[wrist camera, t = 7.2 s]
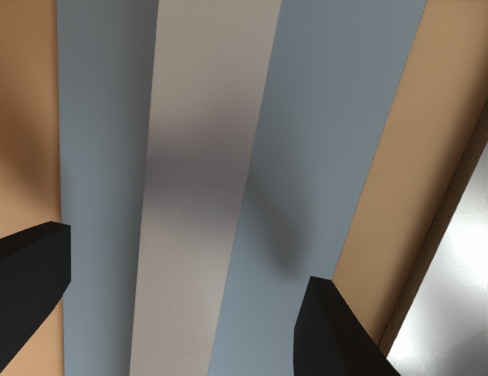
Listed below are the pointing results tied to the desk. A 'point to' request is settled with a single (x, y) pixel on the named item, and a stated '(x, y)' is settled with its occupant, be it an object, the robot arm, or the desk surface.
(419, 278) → the hook rack
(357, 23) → the mat
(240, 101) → the rail
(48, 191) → the desk surface
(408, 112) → the desk surface
